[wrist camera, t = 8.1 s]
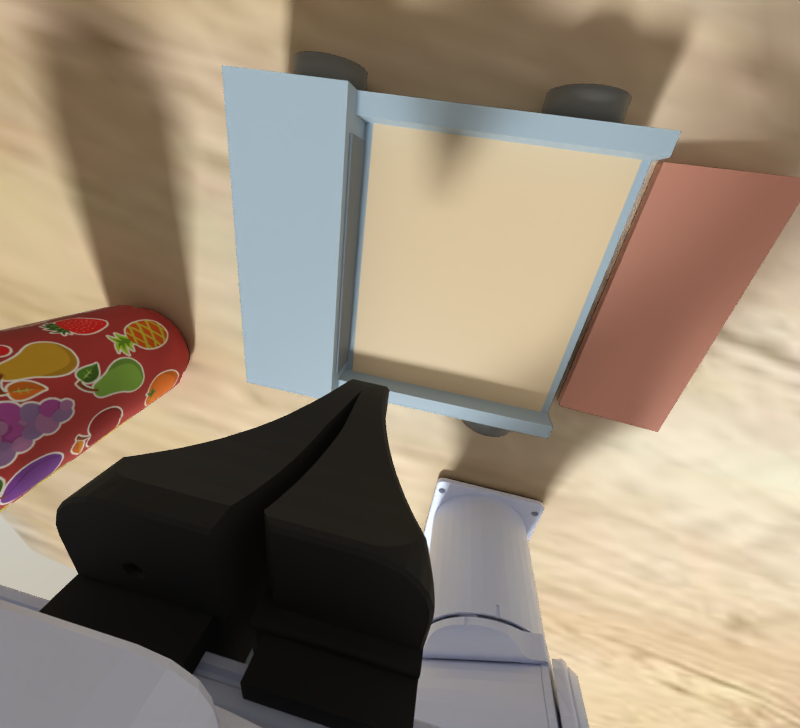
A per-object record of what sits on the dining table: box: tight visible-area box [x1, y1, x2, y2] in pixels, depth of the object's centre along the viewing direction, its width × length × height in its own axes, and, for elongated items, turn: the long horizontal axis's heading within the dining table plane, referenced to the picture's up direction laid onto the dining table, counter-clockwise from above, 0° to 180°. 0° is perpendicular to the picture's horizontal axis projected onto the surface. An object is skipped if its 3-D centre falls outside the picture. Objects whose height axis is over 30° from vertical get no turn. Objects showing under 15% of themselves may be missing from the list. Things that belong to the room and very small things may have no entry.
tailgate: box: [558, 162, 800, 432], centre depth 17 cm, size 13×1×6 cm
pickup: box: [222, 51, 681, 439], centre depth 17 cm, size 16×17×5 cm
